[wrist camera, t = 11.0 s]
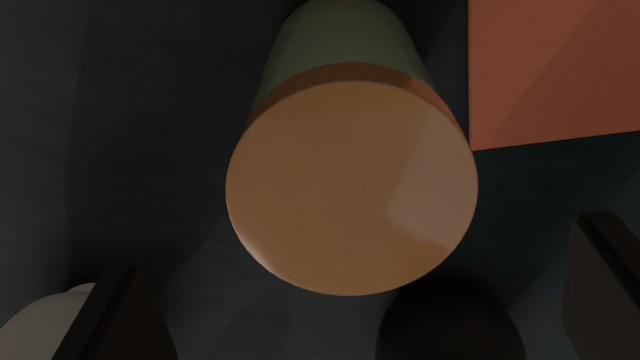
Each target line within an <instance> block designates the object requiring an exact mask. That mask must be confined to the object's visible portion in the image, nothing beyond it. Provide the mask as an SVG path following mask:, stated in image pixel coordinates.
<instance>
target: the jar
mask: <svg viewBox="0 0 640 360" xmlns="http://www.w3.org/2000/svg"><path fill="white" fill-rule="evenodd" d="M225 191H226V204H227V209H228V214H229V217H230V220H231V222H232V225H233V228H234V230H235V232H236V234H237V235H238V237H239V239H240V241H241V242H242V244H243V245H244V246H245V248H246V249H247V251H248V252H249V253H250V254H251V255H252V256H253V257H254V258H255V259H256V260H257V261H258V262H259V263H260V264H261V265H262V266H264V267H265V268H266V269H267V270H268V271H270V272H272V273H273V274H275V275H276V276H278V277H279V278H281V279H283V280H285V281H287V282H289V283H291V284H293V285H296V286H299V287H301V288H304V289H307V290H311V291H315V292H319V293H324V294H331V295H343V296H356V295H368V294H374V293H380V292H384V291H388V290H392V289H395V288H398V287H400V286H403V285H406V284H408V283H410V282H412V281H414V280H416V279H418V278H420V277H422V276H423V275H425V274H426V273H428V272H430V271H431V270H433V269H434V268H435V267H436V266H438V265H439V264H440V263H441V262H442V261H444V260H445V259H446V258H447V257H448V255H449V254H450V253H451V252H452V251H453V250H454V249H455V248H456V246H457V245H458V244H459V242H460V241H461V240H462V238H463V236H464V234H465V233H466V231H467V229H468V227H469V225H470V222H471V220H472V217H473V215H474V211H475V207H476V203H477V197H478V174H477V168H476V164H475V160H474V156H473V154H472V151H471V149H470V146H469V144H468V142H467V140H466V138H465V136H464V134H463V132H462V130H461V128H460V126H459V124H458V123H457V121H456V119H455V117H454V116H453V114H452V112H451V111H450V109H449V108H448V106H447V105H446V104H445V103H444V102H443V101H442V99H441V97H440V95H439V93H438V91H437V89H436V87H435V85H434V83H433V81H432V79H431V77H430V75H429V73H428V71H427V69H426V67H425V65H424V63H423V61H422V59H421V57H420V55H419V53H418V51H417V49H416V47H415V45H414V43H413V41H412V39H411V37H410V35H409V33H408V31H407V29H406V27H405V26H404V24H403V22H402V21H401V20H400V19H399V18H398V16H397V15H396V14H395V13H394V12H393V11H392V10H390V9H389V8H388V7H387V6H385V5H384V4H382V3H381V2H379V1H377V0H310V1H308V2H306V3H304V4H303V5H301V6H300V7H299V8H297V9H296V10H295V11H294V12H293V13H292V14H290V15H289V16H288V18H287V19H286V20H285V21H284V23H283V24H282V25H281V27H280V29H279V30H278V32H277V34H276V36H275V39H274V41H273V44H272V47H271V50H270V53H269V56H268V59H267V62H266V65H265V68H264V71H263V74H262V77H261V80H260V83H259V86H258V89H257V92H256V95H255V98H254V101H253V104H252V107H251V110H250V113H249V116H248V117H247V119H246V121H245V122H244V124H243V127H242V129H241V131H240V133H239V136H238V139H237V142H236V145H235V147H234V150H233V153H232V156H231V159H230V163H229V167H228V170H227V176H226V185H225Z"/></svg>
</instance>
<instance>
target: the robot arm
mask: <svg viewBox="0 0 640 360" xmlns="http://www.w3.org/2000/svg"><path fill="white" fill-rule="evenodd" d="M561 317H562V324H563V328H564V331H565V333H566V335H567V337H568V339H569V341H570V342H571V344H572V346H573V348H574V350H575V352H576V354H577V356H578V358H579V360H640V241H639V240H638V239H637V238H636V237H635V235H634V234H633V233H632V232H631V231H630V230H629V228H628V227H627V226H626V225H625V224H624V223H623V222H622V220H621V219H620V218H619V217H618V216H617V215H616V213H615V212H613V211H612V210H600V211H591V212H583V213H581V214H580V215H579V218H578V220H573V221H572V222H571V224H570V232H569V242H568V253H567V263H566V273H565V283H564V293H563V303H562V314H561ZM51 360H178V356H177V351H176V348H175V346H174V343H173V341H172V338H171V336H170V333H169V331H168V328H167V326H166V323H165V320H164V318H163V315H162V313H161V310H160V308H159V305H158V303H157V300H156V298H155V295H154V292H153V290H152V287H151V285H150V282H149V280H148V277H147V275H146V272H145V270H144V269H142V268H137V266H136V265H135V264H134V263H124V264H115V265H108V266H106V267H105V268H104V269H103V271H102V273H101V275H100V276H99V278H98V280H97V281H96V283H95V285H94V287H93V288H92V290H91V292H90V293H89V295H88V297H87V299H86V300H85V302H84V304H83V305H82V307H81V309H80V311H79V312H78V314H77V316H76V317H75V319H74V321H73V323H72V324H71V326H70V328H69V329H68V331H67V333H66V335H65V336H64V338H63V340H62V341H61V343H60V345H59V347H58V348H57V350H56V352H55V353H54V355H53V357H52V359H51Z"/></svg>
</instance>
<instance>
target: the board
mask: <svg viewBox="0 0 640 360" xmlns="http://www.w3.org/2000/svg"><path fill="white" fill-rule="evenodd" d="M468 57H469V146H470V148H471V150H472V151H474V150H482V149H490V148H498V147H506V146H515V145H523V144H531V143H539V142H547V141H555V140H563V139H571V138H579V137H588V136H596V135H604V134H612V133H620V132H628V131H636V130H640V0H468Z"/></svg>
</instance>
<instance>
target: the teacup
mask: <svg viewBox="0 0 640 360" xmlns="http://www.w3.org/2000/svg"><path fill="white" fill-rule="evenodd" d="M94 285H95V283H87V284H82V285H79V286H76V287H74V288H72V289H70V290H69V291H67V292H64V293H58V294H54V295H50V296H47V297H45V298H42V299H40V300H37V301H35V302H34V303H32V304H30V305H28V306H27V307H25V308H24V309H23V310H21V311H20V312H19V313H17V314H16V315H15V316H14V317H12V318H11V319H10V320H9V321H8V322H7V323H6V324H5V325H4V326H3V327H2V328H1V329H0V360H51V359H52V357H53V355H54V353H55V352H56V350H57V348H58V347H59V345H60V343H61V341H62V340H63V338H64V336H65V335H66V333H67V331H68V329H69V328H70V326H71V324H72V323H73V321H74V319H75V317H76V316H77V314H78V312H79V311H80V309H81V307H82V305H83V304H84V302H85V300H86V299H87V297H88V295H89V293H90V292H91V290H92V288H93V287H94Z"/></svg>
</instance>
